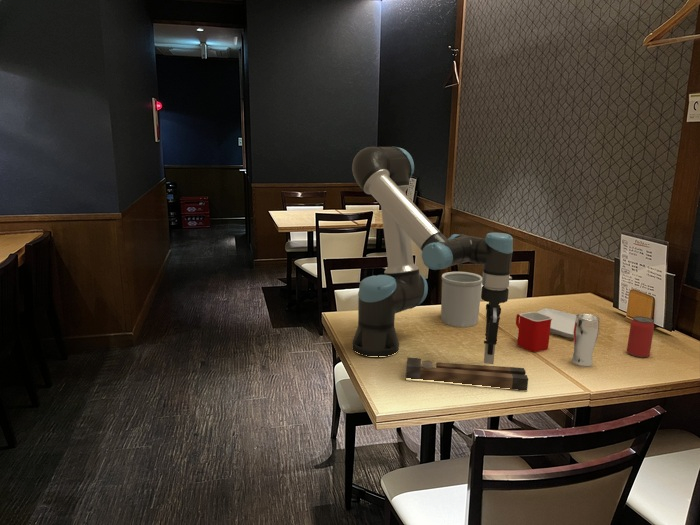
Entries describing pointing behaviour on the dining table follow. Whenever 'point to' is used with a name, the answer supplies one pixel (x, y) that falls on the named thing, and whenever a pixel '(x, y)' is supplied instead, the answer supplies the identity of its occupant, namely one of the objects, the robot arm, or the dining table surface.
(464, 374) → the base
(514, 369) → the bar
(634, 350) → the beer can
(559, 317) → the salad plate
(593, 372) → the dining table surface
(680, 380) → the dining table surface
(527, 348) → the mug
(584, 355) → the beer glass
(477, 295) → the utensil holder
